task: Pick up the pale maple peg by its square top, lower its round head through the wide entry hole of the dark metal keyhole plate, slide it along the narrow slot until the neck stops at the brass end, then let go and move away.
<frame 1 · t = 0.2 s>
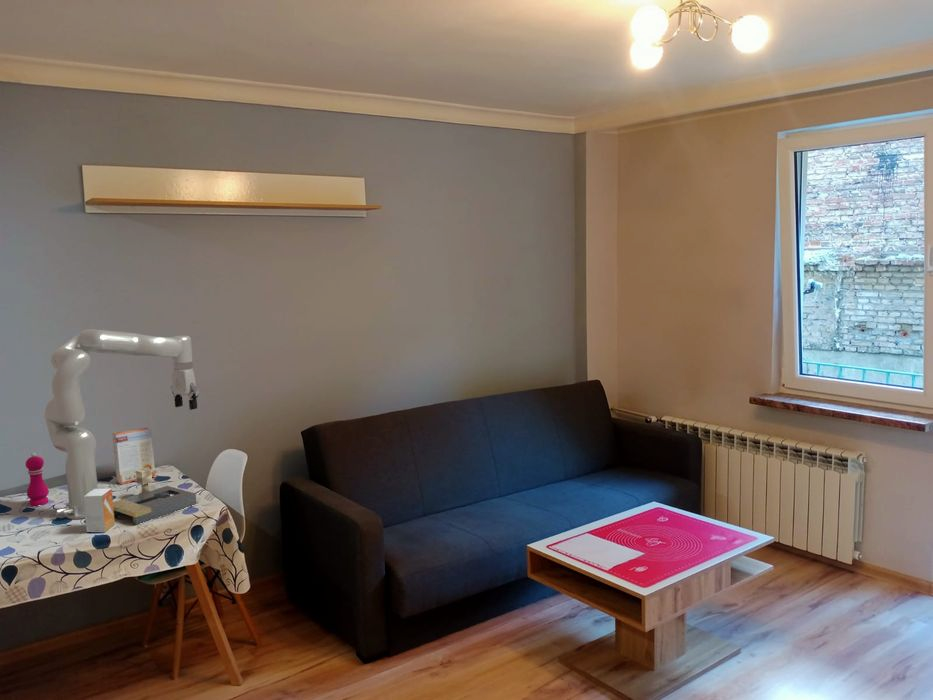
hand: (186, 407, 299), 31 cm above the table, tool pointing down, fingers open, 9 cm apart
maple peg: (145, 497, 284), on the table
pepper mill: (39, 504, 279), on the table
keyhole plate: (153, 510, 269), on the table
cracker box: (136, 480, 307), on the table
small box: (101, 529, 252), on the table
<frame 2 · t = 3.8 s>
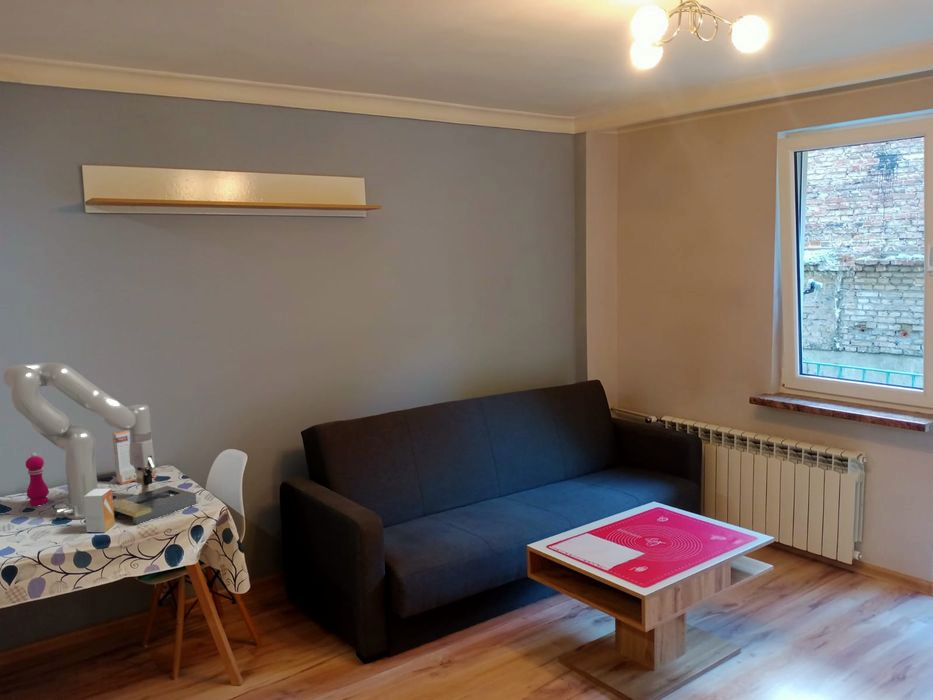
hand: (144, 482, 283), 6 cm above the table, tool pointing down, fingers closed on maple peg, 4 cm apart
maple peg: (146, 497, 284), on the table, touching gripper
everything else where it was.
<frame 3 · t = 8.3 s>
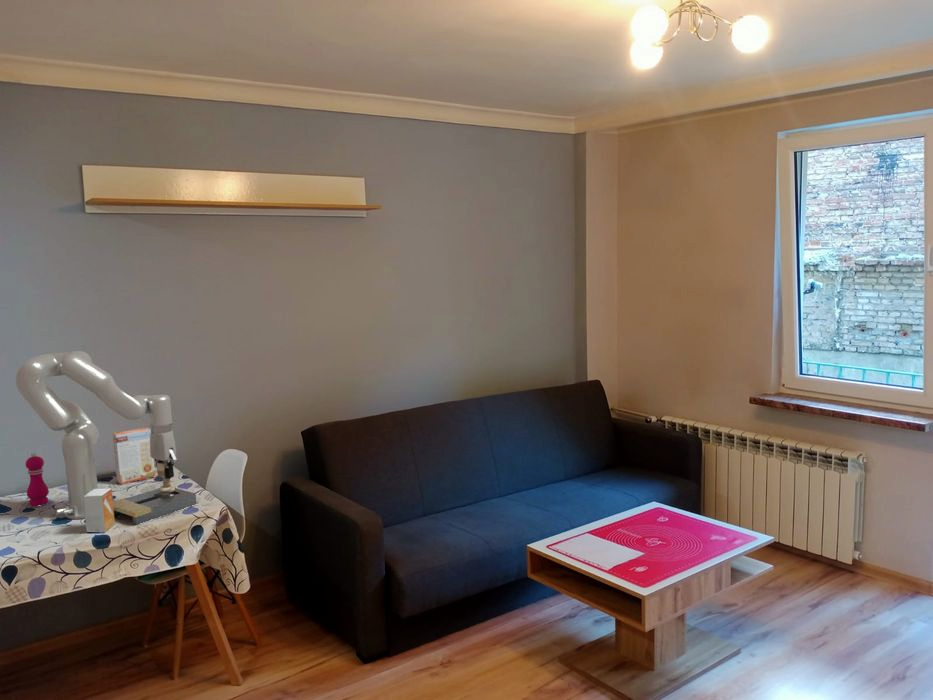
hand: (165, 476, 272), 11 cm above the table, tool pointing down, fingers closed on maple peg, 4 cm apart
maple peg: (167, 491, 273), point 6 cm above the table, touching gripper
everything else where it was.
when the fingers open (6 cm above the table, at t = 12.7 s): maple peg stays where it is, resting in keyhole plate.
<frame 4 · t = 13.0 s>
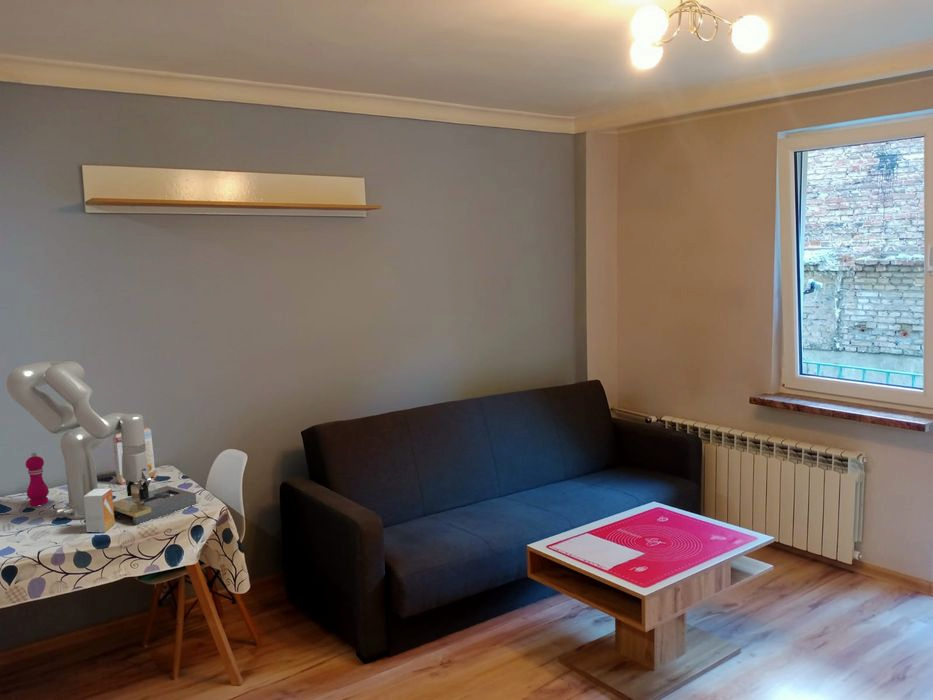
hand: (138, 496, 264), 7 cm above the table, tool pointing down, fingers open, 7 cm apart
maple peg: (141, 514, 266), resting in keyhole plate
everything else where it was.
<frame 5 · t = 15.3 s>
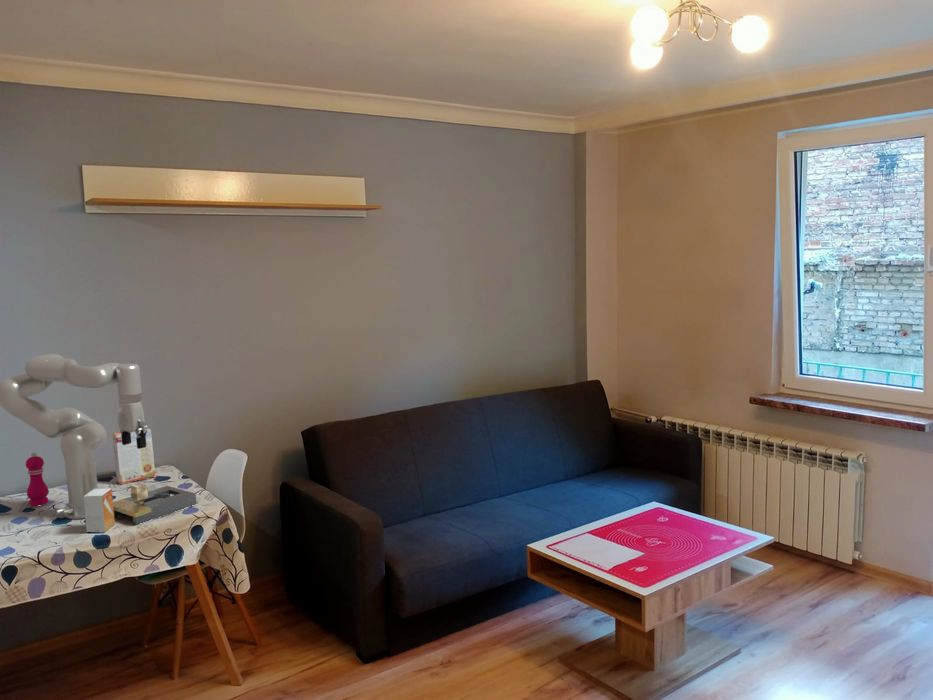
hand: (134, 446, 262), 25 cm above the table, tool pointing down, fingers open, 9 cm apart
nothing on the table moved.
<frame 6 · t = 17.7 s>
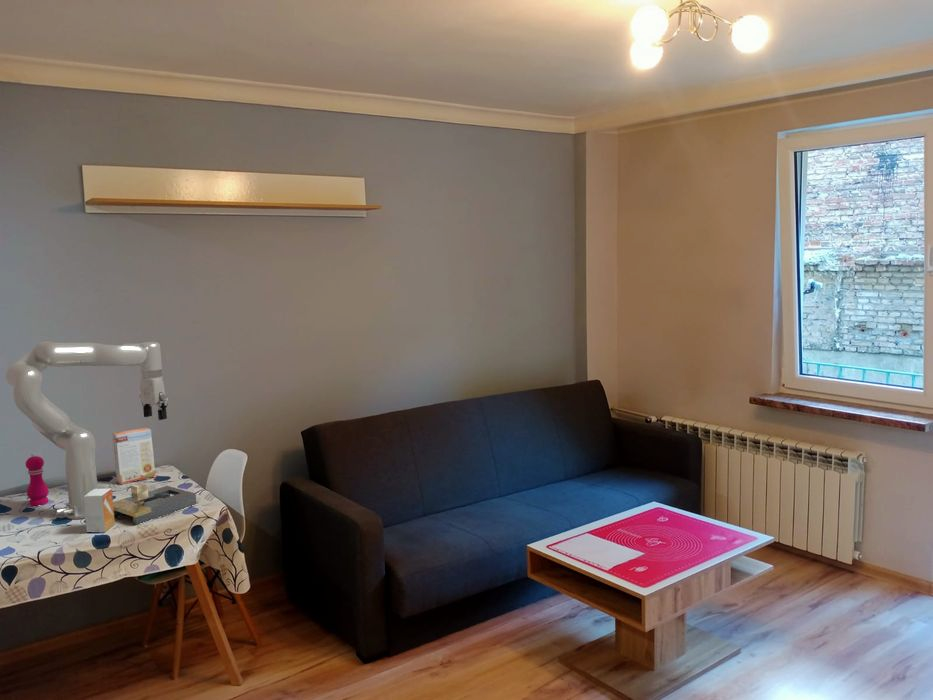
hand: (155, 417, 284), 30 cm above the table, tool pointing down, fingers open, 9 cm apart
nothing on the table moved.
at the end: maple peg 0.3 cm from the target spot on the keyhole plate, point 0.0 cm above the keyhole plate's base; maple peg tilted 1°; the gripper is holding nothing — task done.
